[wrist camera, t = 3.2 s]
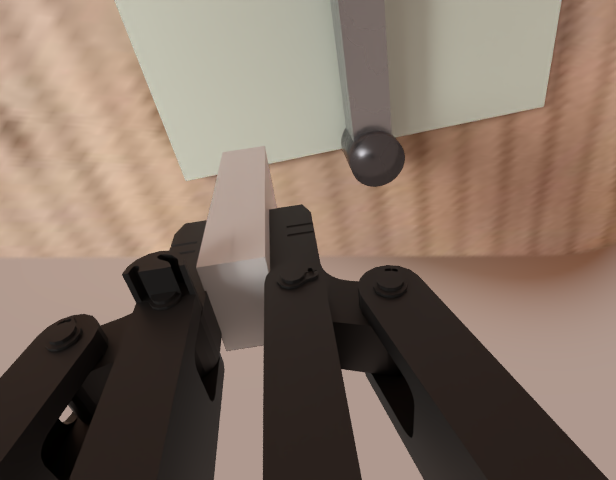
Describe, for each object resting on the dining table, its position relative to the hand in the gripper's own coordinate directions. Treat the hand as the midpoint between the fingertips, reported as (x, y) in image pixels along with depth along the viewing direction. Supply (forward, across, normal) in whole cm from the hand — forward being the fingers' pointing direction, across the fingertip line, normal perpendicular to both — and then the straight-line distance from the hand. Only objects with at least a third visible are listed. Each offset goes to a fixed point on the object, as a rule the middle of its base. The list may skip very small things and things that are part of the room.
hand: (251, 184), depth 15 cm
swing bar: (+9, +6, +3) cm, 11 cm away
